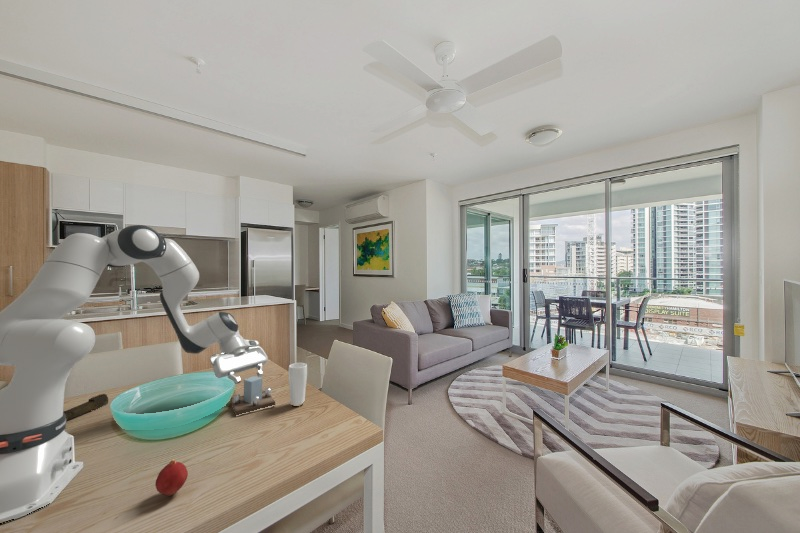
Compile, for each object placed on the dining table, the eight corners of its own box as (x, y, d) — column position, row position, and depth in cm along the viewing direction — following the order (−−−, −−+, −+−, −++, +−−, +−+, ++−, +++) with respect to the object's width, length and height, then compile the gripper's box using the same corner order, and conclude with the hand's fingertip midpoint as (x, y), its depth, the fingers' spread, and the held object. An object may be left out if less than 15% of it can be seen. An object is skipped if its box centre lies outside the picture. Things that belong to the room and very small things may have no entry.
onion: (148, 504, 65) (149, 467, 66) (168, 485, 71) (169, 451, 71) (174, 504, 66) (175, 467, 66) (193, 485, 71) (193, 452, 71)
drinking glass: (297, 409, 111) (298, 369, 111) (284, 406, 113) (284, 366, 114) (310, 402, 117) (310, 364, 117) (297, 399, 120) (297, 361, 120)
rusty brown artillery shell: (51, 431, 95) (51, 416, 95) (40, 430, 95) (40, 415, 96) (114, 404, 114) (114, 392, 114) (104, 404, 114) (105, 391, 114)
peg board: (275, 407, 113) (275, 393, 113) (236, 416, 105) (236, 402, 105) (267, 395, 123) (267, 383, 123) (230, 403, 115) (231, 390, 115)
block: (261, 399, 115) (262, 378, 115) (251, 403, 111) (251, 381, 111) (254, 396, 117) (254, 376, 117) (243, 400, 113) (243, 379, 113)
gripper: (211, 350, 110) (226, 382, 105) (261, 340, 128) (276, 366, 123) (204, 361, 112) (219, 392, 107) (254, 349, 130) (268, 376, 125)
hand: (250, 378), depth 115 cm, fingers open, 8 cm apart
